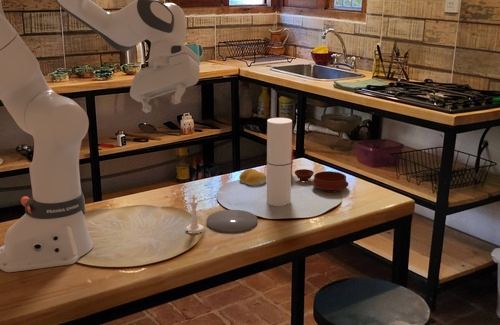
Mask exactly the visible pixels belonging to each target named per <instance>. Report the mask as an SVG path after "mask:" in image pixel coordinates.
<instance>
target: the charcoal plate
mask: <svg viewBox="0 0 500 325" xmlns="http://www.w3.org/2000/svg"><path fill="white" fill-rule="evenodd" d="M257 225H258V217H257V215H256V214H255V213H252V212H250V211H248V210H242V209H224V210H219V211H216V212H212V213H211V214H208V216H207V217H206V226H207V227H208V228H209V229H211V230H213V231H215V232H218V233H219V232H220V233H226V234H227V233H228V234H236V233H243V232H247V231H250V230H252V229H254V228H255V227H257Z"/></svg>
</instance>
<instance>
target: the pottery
mask: <svg viewBox="0 0 500 325" xmlns="http://www.w3.org/2000/svg"><path fill="white" fill-rule="evenodd" d="M294 175H295V176H296V177H297V179H299V182H301V181H308V182H309V180H310V179H311V178H312V176H313V179H312V180H311V183H310V184H311V185H312V186H313V187H314V188H317V189H320V190H321V189H322V190H324V191H323V192H325V191H330V192H329V193H335V192H334V191H336V192H338V191H340V190H342V189H343V190H344V189H346V188H347V187H349V182H348V181H347V175H346V174H344V173H342V172H340V171H333V170H332V171H329V170H328V171H327V170H326V171H325V170H324V171H318V172H316V173H315V172H314V170H312V169H306V168H304V169H296V170H294ZM322 190H321V191H322Z"/></svg>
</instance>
